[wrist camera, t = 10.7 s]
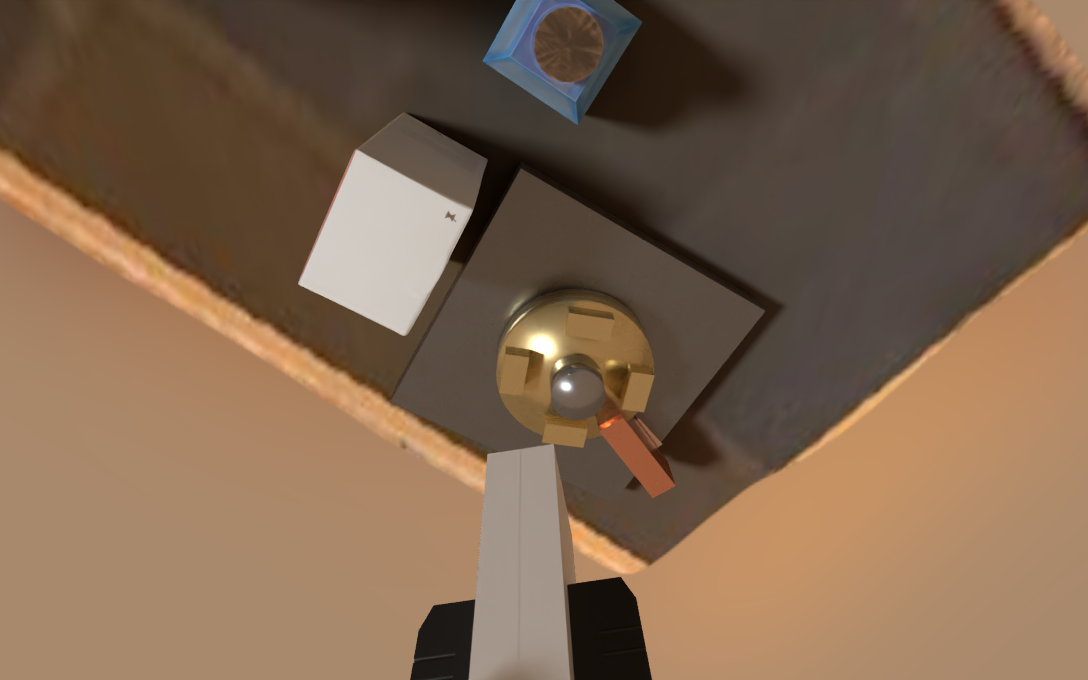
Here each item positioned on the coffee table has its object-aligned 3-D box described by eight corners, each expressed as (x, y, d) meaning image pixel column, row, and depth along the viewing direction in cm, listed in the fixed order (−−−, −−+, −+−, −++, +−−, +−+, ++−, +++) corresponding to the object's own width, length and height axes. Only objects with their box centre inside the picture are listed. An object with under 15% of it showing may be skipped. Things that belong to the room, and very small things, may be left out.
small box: (402, 109, 42) (355, 144, 30) (490, 158, 43) (477, 209, 31) (354, 216, 45) (294, 286, 33) (437, 259, 46) (408, 340, 34)
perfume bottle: (626, 21, 40) (663, 22, 29) (570, 111, 42) (586, 142, 31) (541, -41, 38) (548, -66, 27) (488, 55, 40) (475, 68, 30)
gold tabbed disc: (466, 343, 46) (462, 368, 43) (595, 258, 43) (600, 277, 40) (598, 498, 53) (603, 529, 49) (717, 432, 50) (730, 460, 47)
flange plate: (396, 385, 51) (374, 445, 43) (521, 160, 43) (520, 188, 36) (610, 484, 55) (623, 553, 48) (756, 298, 48) (796, 347, 41)
